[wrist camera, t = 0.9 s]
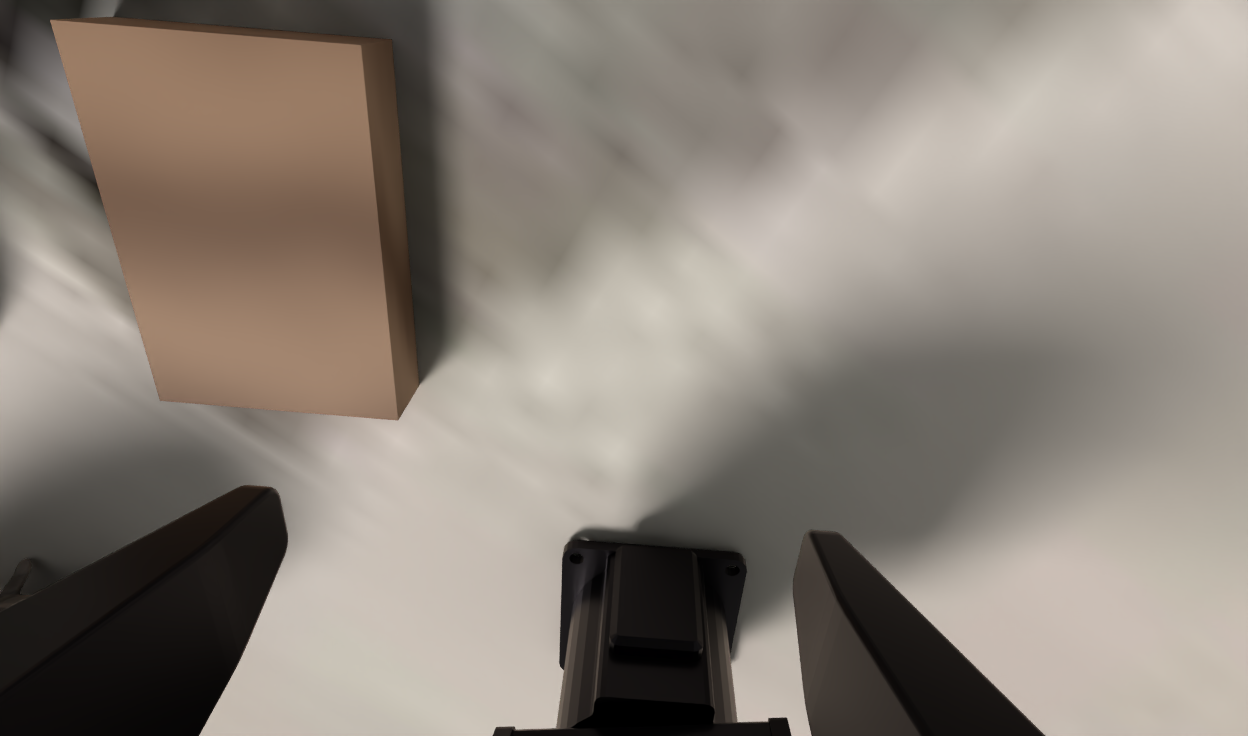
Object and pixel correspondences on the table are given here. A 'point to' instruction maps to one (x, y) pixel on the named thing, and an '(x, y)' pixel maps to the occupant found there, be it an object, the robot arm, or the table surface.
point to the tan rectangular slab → (253, 209)
